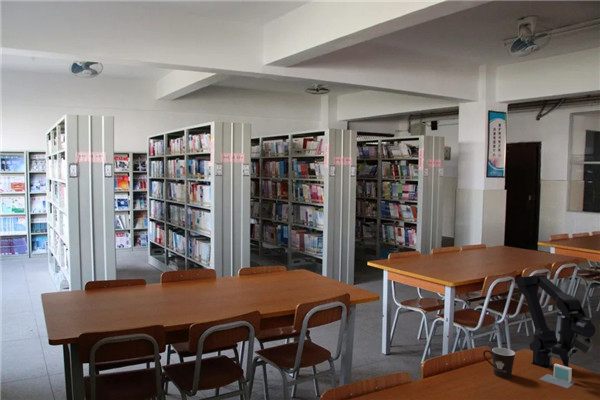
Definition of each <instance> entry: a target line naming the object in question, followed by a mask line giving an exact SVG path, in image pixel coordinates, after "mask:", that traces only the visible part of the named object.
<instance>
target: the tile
mask: <svg viewBox="0 0 600 400" xmlns="http://www.w3.org/2000/svg"><path fill="white" fill-rule="evenodd" d="M572 371H573V368H572V367H566V366H564V365H562V364H558V363H554V364H553V378H555V379H558V380H561V381H564V382H567V383H570V382H571V381H572Z"/></svg>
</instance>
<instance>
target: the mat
mask: <svg viewBox="0 0 600 400" xmlns="http://www.w3.org/2000/svg"><path fill="white" fill-rule="evenodd" d="M539 380H541V381H544V382H546V383H550V384H553V385H556V386H559V387H562V388H564V389H565V388H566V389H569V388H570V387H571V386H573V385H574V384H575V383H576V382H575V381H572V380H571V382H570V383H567V382H564V381H561V380H558V379H555V378H553V375H552V374H549V373H546V374H545V375H543V376H541V377H540V378H539Z"/></svg>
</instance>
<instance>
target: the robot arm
mask: <svg viewBox="0 0 600 400" xmlns="http://www.w3.org/2000/svg"><path fill="white" fill-rule="evenodd" d="M516 286H517V287H518V290H519V292H520V293H521V294H522V295H523V296H524V297H525V300H526V303H527V307H528V309H529V312H530V316H531V319H532V323H533V326H534V333H533V341H531V342H530V343H529V349H530V350H531V351H533V352H532V362H531V363H530V364H531V365H534V366H538V367H540V368H544V369H548V368H549V367H551V366H553V356H552V355H556V356H557V355H558V356H559V358H560V360H561V362H562V364H563V366H566V367H569V366H570V363H571V361H572V357H573V355H575V354H576V353H577V352H579V351H581V352H582V353H584V354H588V353H590V352H591V349H592V348H593V346H594V343H593V339H592V337H593V336H594V335H595V333H596V328H595V325H594V323H593V322H592V320H591V319H590V318H587V315H586V312H585V311H584V308H583V306H582V304H581V301H580V300H579V299H578V298H577V297H575V296H574V295H571V294H570V293H569V294H568V293H566V292H564V291H563V290H562V289H561V288H559V287H558V286H557V285H556V284H555V283H553V281H551V280H550V279H549V278H548V276H547V275H545V274H540V273H539V274H534V275H522V276H519V277H518V278H517V279H516ZM540 289H541V290H543V291H544V293H546V294H547V295H548V296H549V297H550V298H551V299H553V300H554V303H555V306H556V308H558V309H559V311H558V312H556V316H559V317H560V326H559V330H558V331H557V333H558V334H559V340H558V337H557V335H556V332H555V330H554V329H552V330H551V329H550V327H548V324H547V321H546V318H545V315H544V311H543V308H542V305H541V303H540V299H539V296H538V293H539V290H540ZM580 335H581V336H583V337H580ZM584 337H585V338H584ZM575 348H576V349H575ZM569 368H570V367H569Z"/></svg>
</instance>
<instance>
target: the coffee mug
mask: <svg viewBox="0 0 600 400" xmlns="http://www.w3.org/2000/svg"><path fill="white" fill-rule="evenodd" d="M486 353H489V354H490V355H491V357H492V362H491V361H490V360H489V359H488V358H487V356H486V355H485V354H486ZM482 355H483V358H484V360H485V361H486V362H488V363H489V364H490V365H491V366H492V368H493V375H494V376H496V377H498V378H501V379H510V378H511V377H512V373H513V369H514V368H513V367H514V360H515V358H516V357H515V356H516V352H515V351H514V350H512V349H509V348H505V347H493V348H492V349H491V350H489V349H488V350H487V349H486V350H484V351H483V353H482Z"/></svg>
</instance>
